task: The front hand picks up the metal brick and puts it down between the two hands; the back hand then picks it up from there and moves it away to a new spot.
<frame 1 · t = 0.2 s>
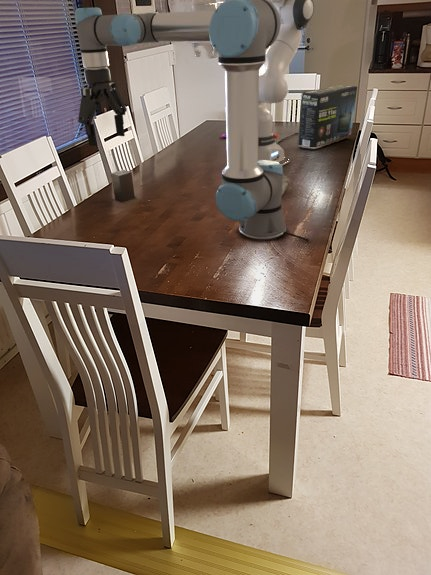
front hand: (107, 140, 148), 28 cm above the table, tool pointing down, fingers open, 13 cm apart
back hand: (206, 57, 171), 48 cm above the table, tool pointing down, fingers open, 8 cm apart
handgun: (231, 140, 257), on the table
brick: (124, 198, 182), on the table
fossil: (266, 191, 183), on the table
router box: (325, 143, 245), on the table
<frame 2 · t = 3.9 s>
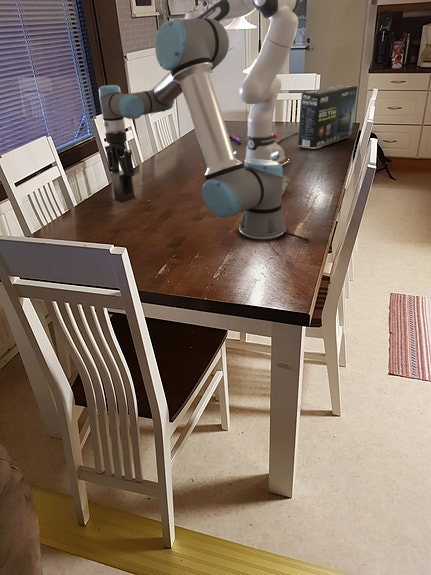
front hand: (124, 191, 181), 3 cm above the table, tool pointing down, fingers closed on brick, 5 cm apart
back hand: (196, 82, 223), 33 cm above the table, tool pointing down, fingers open, 8 cm apart
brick: (124, 198, 182), on the table, touching front hand
everything else where it was.
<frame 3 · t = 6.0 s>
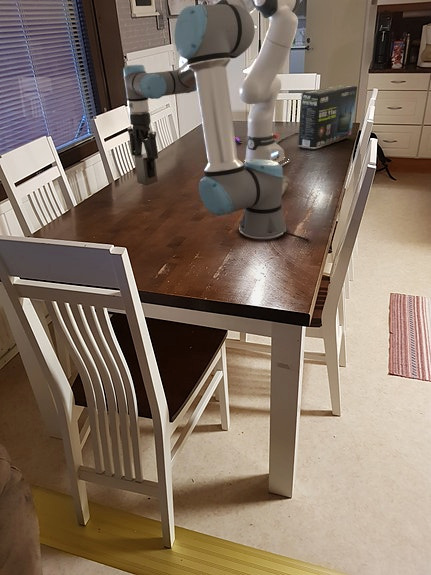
front hand: (146, 175, 177), 9 cm above the table, tool pointing down, fingers closed on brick, 5 cm apart
back hand: (196, 82, 223), 33 cm above the table, tool pointing down, fingers open, 8 cm apart
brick: (147, 182, 179), point 6 cm above the table, touching front hand
everything else where it was.
when the front hand's fingers open (4 cm above the table, at t = 7.9 s): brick drops 2 cm, on the table.
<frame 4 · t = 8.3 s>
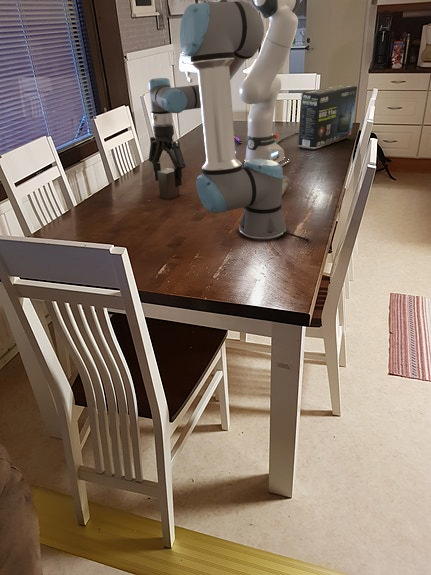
front hand: (168, 182, 180), 5 cm above the table, tool pointing down, fingers open, 11 cm apart
back hand: (196, 82, 223), 33 cm above the table, tool pointing down, fingers open, 8 cm apart
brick: (169, 196, 182), on the table
everything else where it was.
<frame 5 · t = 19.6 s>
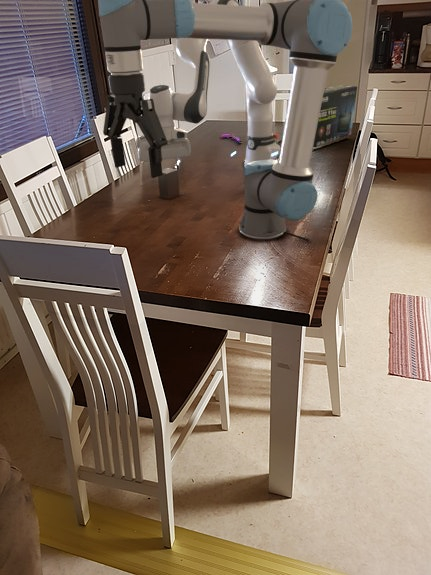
front hand: (138, 171, 109), 30 cm above the table, tool pointing down, fingers open, 13 cm apart
back hand: (165, 170, 177), 10 cm above the table, tool pointing down, fingers open, 8 cm apart
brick: (169, 196, 182), on the table, touching back hand
everything else where it was.
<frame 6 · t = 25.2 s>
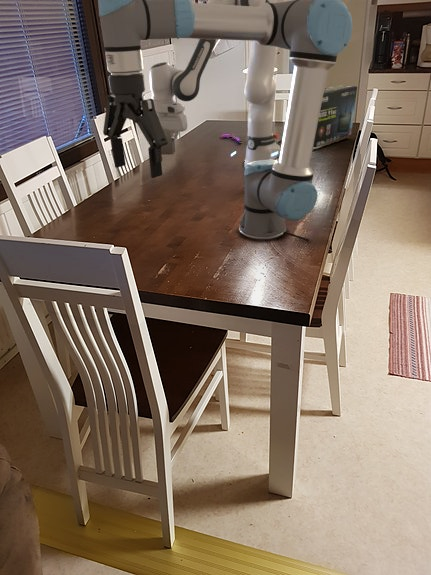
front hand: (138, 171, 109), 30 cm above the table, tool pointing down, fingers open, 13 cm apart
back hand: (166, 140, 196), 16 cm above the table, tool pointing down, fingers closed on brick, 7 cm apart
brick: (167, 152, 199), point 11 cm above the table, touching back hand
everything else where it was.
when the back hand's fingers open (7 cm above the table, at t = 29.9 s): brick drops 1 cm, on the table.
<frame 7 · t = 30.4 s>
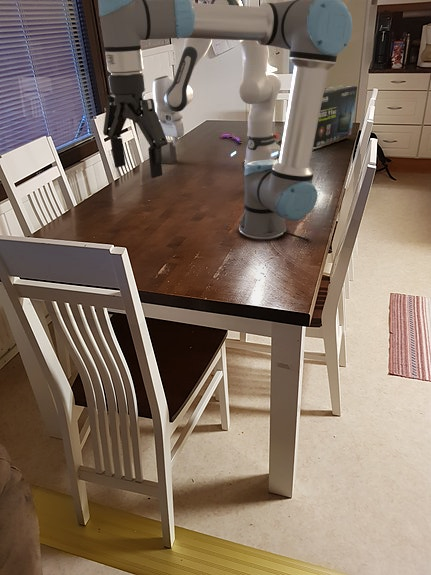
front hand: (138, 171, 109), 30 cm above the table, tool pointing down, fingers open, 13 cm apart
back hand: (167, 144, 220), 8 cm above the table, tool pointing down, fingers open, 8 cm apart
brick: (168, 162, 224), on the table
everything else where it was.
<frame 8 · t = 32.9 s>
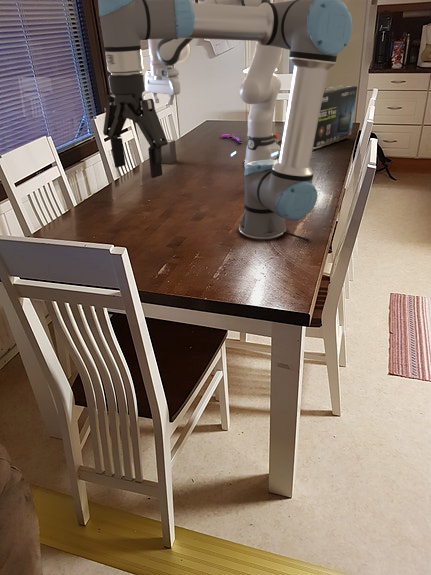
front hand: (138, 171, 109), 30 cm above the table, tool pointing down, fingers open, 13 cm apart
back hand: (163, 103, 211), 27 cm above the table, tool pointing down, fingers open, 8 cm apart
nothing on the table moved.
at the end: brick inside the target area (0.1 cm from its centre), on the table; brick tilted 0°; the two hands never held the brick at the same time; the front hand is holding nothing; the back hand is holding nothing; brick at rest at the end (0.0 cm/s) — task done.
